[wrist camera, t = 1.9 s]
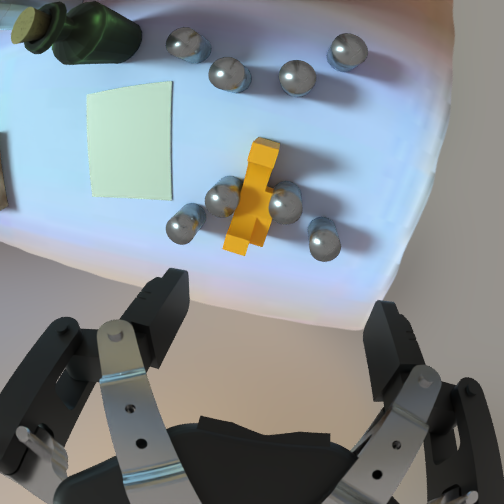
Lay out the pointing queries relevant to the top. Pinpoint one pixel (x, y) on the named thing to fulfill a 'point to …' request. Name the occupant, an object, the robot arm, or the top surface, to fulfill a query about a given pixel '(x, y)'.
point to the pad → (130, 141)
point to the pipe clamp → (253, 199)
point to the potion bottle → (78, 33)
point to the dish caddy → (2, 190)
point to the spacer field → (229, 188)
